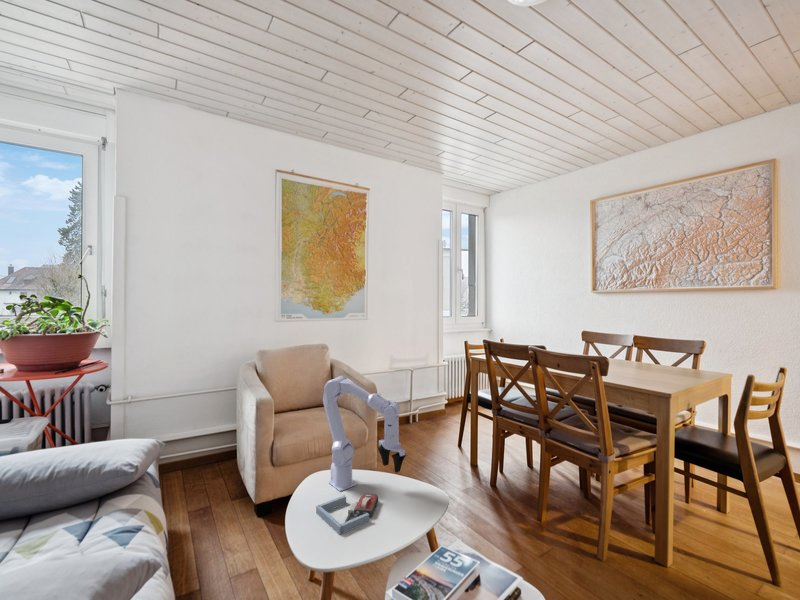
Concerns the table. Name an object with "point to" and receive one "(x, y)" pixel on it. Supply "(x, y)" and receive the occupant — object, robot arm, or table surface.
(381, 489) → the table surface
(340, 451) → the robot arm
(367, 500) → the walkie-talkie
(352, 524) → the grey pronged cradle
